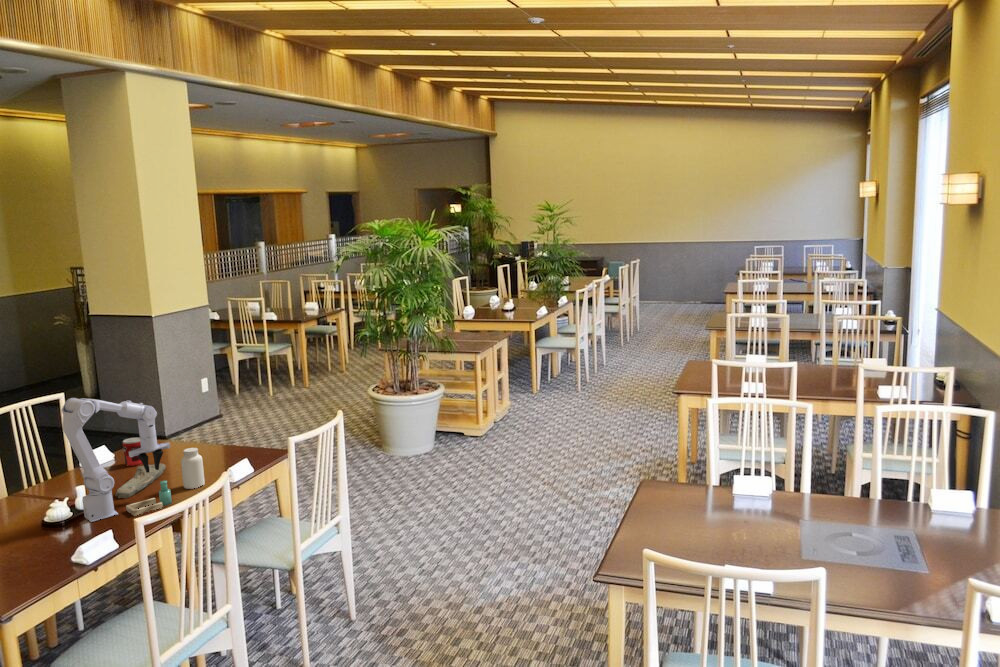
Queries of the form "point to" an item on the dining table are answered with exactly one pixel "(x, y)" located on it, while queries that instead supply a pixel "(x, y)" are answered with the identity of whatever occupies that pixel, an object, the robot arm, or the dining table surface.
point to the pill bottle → (192, 469)
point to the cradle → (134, 507)
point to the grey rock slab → (139, 480)
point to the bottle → (165, 494)
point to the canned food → (130, 446)
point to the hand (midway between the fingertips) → (152, 470)
